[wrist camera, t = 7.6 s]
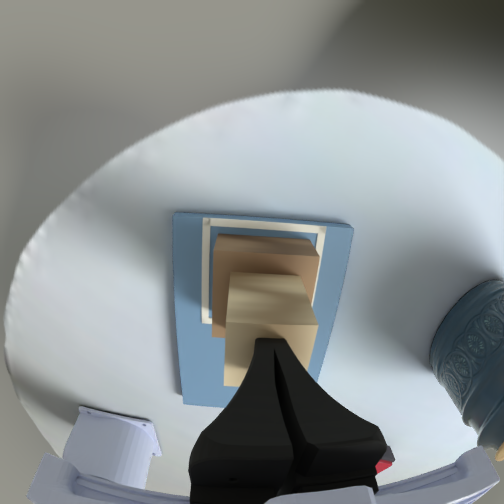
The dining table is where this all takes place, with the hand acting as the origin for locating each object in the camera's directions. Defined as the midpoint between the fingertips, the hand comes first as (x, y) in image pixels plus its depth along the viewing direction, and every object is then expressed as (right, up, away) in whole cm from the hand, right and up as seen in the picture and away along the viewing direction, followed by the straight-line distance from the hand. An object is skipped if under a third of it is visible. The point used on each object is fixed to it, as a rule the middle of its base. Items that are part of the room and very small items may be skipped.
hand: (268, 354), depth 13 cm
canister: (+23, -4, +12) cm, 26 cm away
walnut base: (0, +3, +7) cm, 8 cm away
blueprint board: (-1, -1, +10) cm, 10 cm away
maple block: (0, +2, +5) cm, 5 cm away
